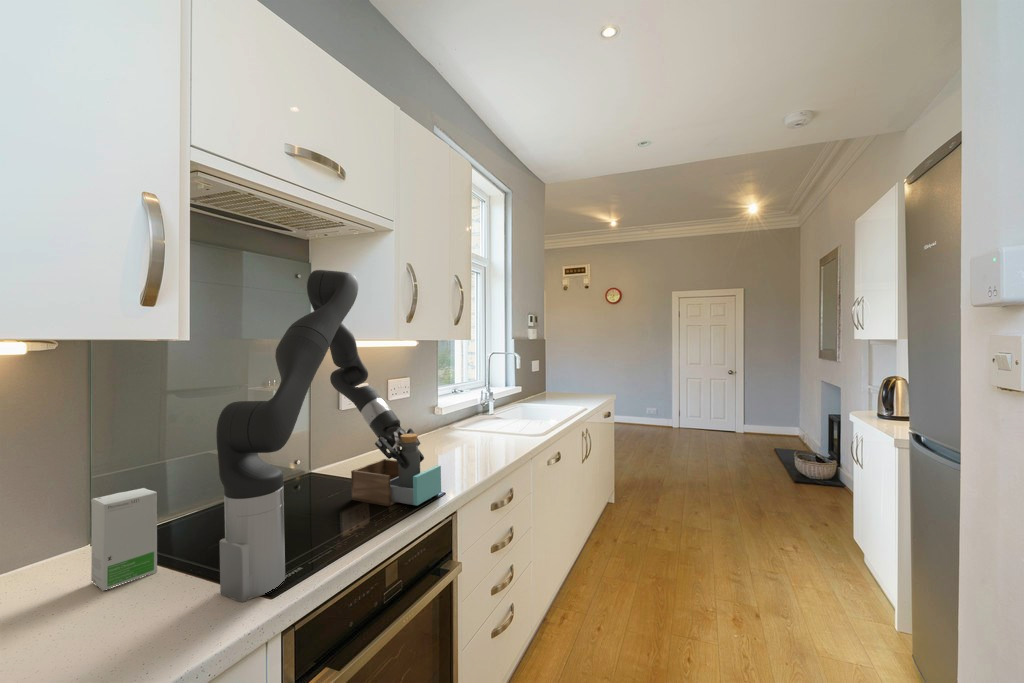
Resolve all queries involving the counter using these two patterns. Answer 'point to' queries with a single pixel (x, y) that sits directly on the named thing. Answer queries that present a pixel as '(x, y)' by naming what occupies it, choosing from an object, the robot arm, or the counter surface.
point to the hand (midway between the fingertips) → (414, 463)
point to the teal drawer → (417, 487)
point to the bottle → (412, 456)
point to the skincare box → (123, 537)
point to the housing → (374, 482)
